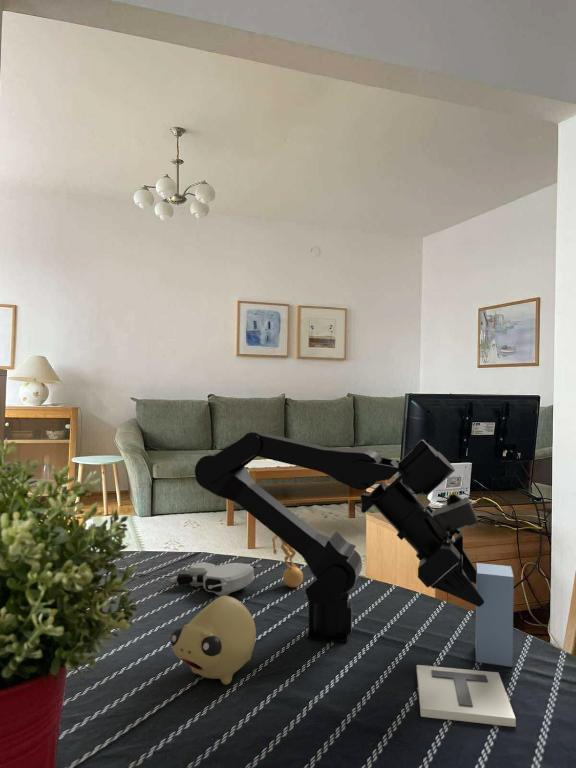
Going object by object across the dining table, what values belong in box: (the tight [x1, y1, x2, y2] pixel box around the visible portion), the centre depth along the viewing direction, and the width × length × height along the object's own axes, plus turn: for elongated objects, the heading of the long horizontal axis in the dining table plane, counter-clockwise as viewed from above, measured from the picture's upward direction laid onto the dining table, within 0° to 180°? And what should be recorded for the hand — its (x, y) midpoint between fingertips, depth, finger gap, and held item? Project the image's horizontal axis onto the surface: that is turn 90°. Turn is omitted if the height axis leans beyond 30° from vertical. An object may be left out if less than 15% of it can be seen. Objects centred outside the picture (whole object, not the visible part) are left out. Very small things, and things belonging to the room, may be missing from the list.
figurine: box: [271, 534, 304, 588], centre depth 115 cm, size 8×6×12 cm
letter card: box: [416, 664, 517, 728], centre depth 75 cm, size 11×11×1 cm
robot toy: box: [169, 561, 262, 597], centre depth 114 cm, size 12×4×15 cm
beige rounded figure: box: [170, 595, 257, 686], centre depth 79 cm, size 10×12×11 cm
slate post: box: [474, 562, 515, 668], centre depth 86 cm, size 5×5×13 cm
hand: (481, 593), depth 87 cm, fingers open, 9 cm apart
